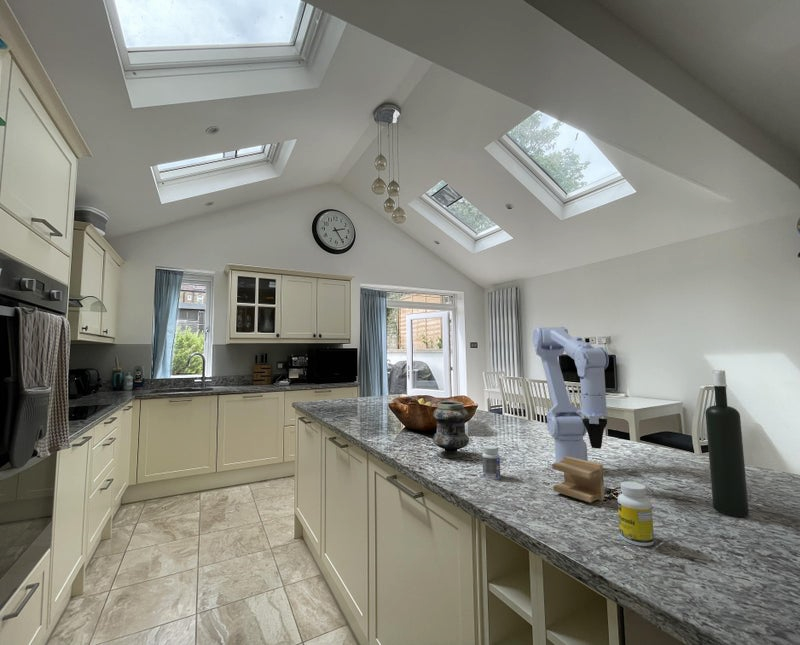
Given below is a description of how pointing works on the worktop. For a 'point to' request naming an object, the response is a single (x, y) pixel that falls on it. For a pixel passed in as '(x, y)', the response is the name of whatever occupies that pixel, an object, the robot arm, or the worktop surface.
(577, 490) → the tan notched block
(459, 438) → the dark grey vase
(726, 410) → the wine bottle
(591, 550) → the worktop surface
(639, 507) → the supplement bottle
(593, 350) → the robot arm
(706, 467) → the worktop surface
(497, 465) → the pill bottle
